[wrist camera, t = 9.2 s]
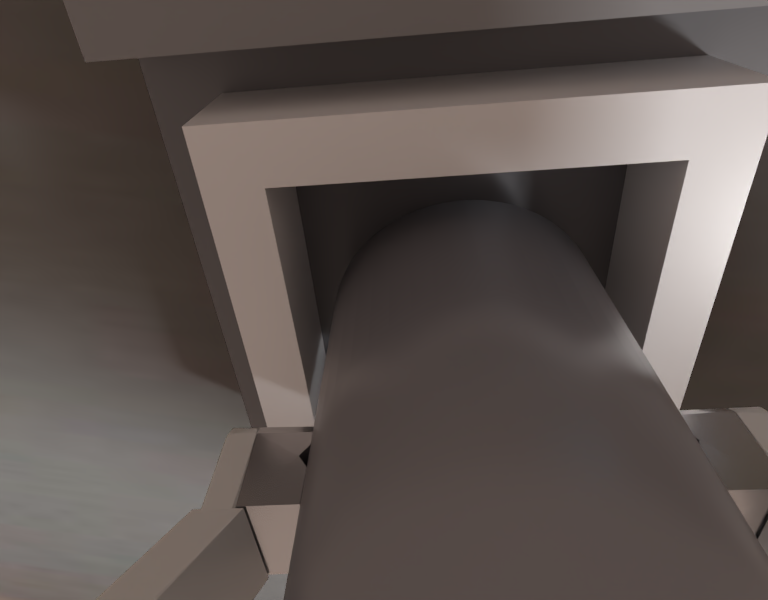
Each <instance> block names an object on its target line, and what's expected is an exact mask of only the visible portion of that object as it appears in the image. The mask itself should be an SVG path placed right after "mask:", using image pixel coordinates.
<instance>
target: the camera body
mask: <svg viewBox="0 0 768 600" xmlns="http://www.w3.org/2000/svg"><path fill="white" fill-rule="evenodd" d="M63 3H64V5H65V8H66V11H67V14H68V17H69V19H70V22H71V25H72V28H73V30H74V33H75V36H76V39H77V42H78V44H79V47H80V50H81V53H82V55H83V58H84V61H85V63H86V62H98V61H110V60H122V59H134V58H138V60H139V63H140V66H141V70H142V73H143V76H144V79H145V83H146V86H147V89H148V92H149V96H150V99H151V102H152V105H153V109H154V112H155V115H156V118H157V122H158V125H159V128H160V131H161V135H162V138H163V141H164V144H165V148H166V151H167V154H168V157H169V161H170V164H171V167H172V170H173V174H174V177H175V180H176V183H177V187H178V190H179V193H180V196H181V200H182V203H183V206H184V209H185V213H186V216H187V219H188V222H189V226H190V229H191V232H192V235H193V239H194V242H195V245H196V248H197V252H198V255H199V258H200V261H201V265H202V268H203V271H204V274H205V278H206V281H207V284H208V287H209V291H210V294H211V297H212V300H213V304H214V307H215V310H216V313H217V317H218V320H219V323H220V326H221V330H222V333H223V336H224V339H225V343H226V346H227V349H228V352H229V356H230V359H231V362H232V365H233V369H234V372H235V375H236V378H237V382H238V385H239V388H240V391H241V394H242V398H243V401H244V404H245V407H246V411H247V414H248V417H249V420H250V424H251V427H252V428H261V427H314V422H315V417H316V411H317V405H318V399H319V394H320V388H321V382H322V376H323V371H324V365H325V359H326V353H327V348H328V342H329V336H330V330H331V325H332V319H333V313H334V307H335V302H336V297H337V293H338V289H339V285H340V283H341V280H342V278H343V275H344V273H345V271H346V269H347V268H348V266H349V264H350V263H351V261H352V259H353V258H354V257H355V255H356V254H357V253H358V252H359V250H360V249H361V248H362V247H363V246H364V245H365V244H366V243H367V242H368V241H369V240H370V239H371V238H372V237H373V236H374V235H375V234H376V233H378V232H379V231H381V230H382V229H383V228H385V227H386V226H388V225H389V224H390V223H392V222H394V221H396V220H398V219H400V218H402V217H403V216H405V215H407V214H410V213H412V212H415V211H417V210H420V209H423V208H425V207H429V206H433V205H437V204H441V203H446V202H453V201H461V200H487V201H495V202H503V203H507V204H511V205H515V206H519V207H522V208H524V209H527V210H529V211H532V212H534V213H537V214H539V215H540V216H542V217H544V218H546V219H547V220H549V221H551V222H553V223H554V224H555V225H556V226H558V227H559V228H560V229H562V230H563V231H564V232H565V233H566V234H567V235H568V236H569V237H570V238H571V239H572V240H573V241H574V242H575V243H576V244H577V246H578V247H579V249H580V250H581V252H582V253H583V255H584V256H585V258H586V260H587V261H588V263H589V265H590V266H591V268H592V269H593V271H594V273H595V274H596V276H597V278H598V279H599V281H600V283H601V284H602V286H603V287H604V289H605V291H606V292H607V294H608V296H609V297H610V299H611V301H612V302H613V304H614V305H615V307H616V309H617V310H618V312H619V314H620V315H621V317H622V319H623V320H624V322H625V323H626V325H627V327H628V328H629V330H630V332H631V333H632V335H633V337H634V338H635V340H636V341H637V343H638V345H639V346H640V348H641V350H642V351H643V353H644V354H645V356H646V358H647V359H648V361H649V363H650V364H651V366H652V368H653V369H654V371H655V372H656V374H657V376H658V377H659V379H660V381H661V382H662V384H663V386H664V387H665V389H666V390H667V392H668V394H669V395H670V397H671V399H672V400H673V402H674V404H675V405H676V407H677V408H678V410H680V407H681V404H682V401H683V398H684V395H685V391H686V388H687V385H688V382H689V379H690V376H691V373H692V370H693V366H694V363H695V360H696V357H697V354H698V351H699V348H700V344H701V341H702V338H703V335H704V332H705V329H706V326H707V323H708V319H709V316H710V313H711V310H712V307H713V304H714V301H715V298H716V294H717V291H718V288H719V285H720V282H721V279H722V276H723V272H724V269H725V266H726V263H727V260H728V257H729V254H730V251H731V247H732V244H733V241H734V238H735V235H736V232H737V229H738V226H739V222H740V219H741V216H742V213H743V210H744V207H745V204H746V201H747V197H748V194H749V191H750V188H751V185H752V182H753V179H754V175H755V172H756V169H757V166H758V163H759V160H760V157H761V154H762V150H763V147H764V144H765V141H766V138H767V135H768V0H63Z"/></svg>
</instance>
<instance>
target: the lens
mask: <svg viewBox="0 0 768 600" xmlns="http://www.w3.org/2000/svg"><path fill="white" fill-rule="evenodd" d="M284 600H768V556H767V554H766V552H765V551H764V549H763V547H762V546H761V544H760V542H759V541H758V539H757V538H756V536H755V534H754V533H753V531H752V529H751V528H750V526H749V525H748V523H747V521H746V520H745V518H744V516H743V515H742V513H741V511H740V510H739V508H738V507H737V505H736V503H735V502H734V500H733V498H732V497H731V495H730V493H729V492H728V490H727V489H726V487H725V485H724V484H723V482H722V480H721V479H720V477H719V475H718V474H717V472H716V471H715V469H714V467H713V466H712V464H711V462H710V461H709V459H708V457H707V456H706V454H705V453H704V451H703V449H702V448H701V446H700V444H699V443H698V441H697V439H696V438H695V436H694V435H693V433H692V431H691V430H690V428H689V426H688V425H687V423H686V422H685V420H684V418H683V417H682V415H681V413H680V412H679V410H678V408H677V407H676V405H675V404H674V402H673V400H672V399H671V397H670V395H669V394H668V392H667V390H666V389H665V387H664V386H663V384H662V382H661V381H660V379H659V377H658V376H657V374H656V372H655V371H654V369H653V368H652V366H651V364H650V363H649V361H648V359H647V358H646V356H645V354H644V353H643V351H642V350H641V348H640V346H639V345H638V343H637V341H636V340H635V338H634V337H633V335H632V333H631V332H630V330H629V328H628V327H627V325H626V323H625V322H624V320H623V319H622V317H621V315H620V314H619V312H618V310H617V309H616V307H615V305H614V304H613V302H612V301H611V299H610V297H609V296H608V294H607V292H606V291H605V289H604V287H603V286H602V284H601V283H600V281H599V279H598V278H597V276H596V274H595V273H594V271H593V269H592V268H591V266H590V265H589V263H588V261H587V260H586V258H585V256H584V255H583V253H582V252H581V250H580V249H579V247H578V246H577V244H576V243H575V242H574V241H573V240H572V239H571V238H570V237H569V236H568V235H567V234H566V233H565V232H564V231H563V230H562V229H560V228H559V227H558V226H556V225H555V224H554V223H553V222H551V221H549V220H547V219H546V218H544V217H542V216H540V215H539V214H537V213H534V212H532V211H529V210H527V209H524V208H522V207H519V206H515V205H511V204H507V203H503V202H495V201H487V200H461V201H453V202H446V203H441V204H437V205H433V206H429V207H425V208H423V209H420V210H417V211H415V212H412V213H410V214H407V215H405V216H403V217H402V218H400V219H398V220H396V221H394V222H392V223H390V224H389V225H388V226H386V227H385V228H383V229H382V230H381V231H379V232H378V233H376V234H375V235H374V236H373V237H372V238H371V239H370V240H369V241H368V242H367V243H366V244H365V245H364V246H363V247H362V248H361V249H360V250H359V252H358V253H357V254H356V255H355V257H354V258H353V259H352V261H351V263H350V264H349V266H348V268H347V269H346V271H345V273H344V275H343V278H342V280H341V283H340V285H339V289H338V293H337V297H336V302H335V307H334V313H333V319H332V325H331V330H330V336H329V342H328V348H327V353H326V359H325V365H324V371H323V376H322V382H321V388H320V394H319V399H318V405H317V411H316V417H315V422H314V428H313V435H312V441H311V446H310V451H309V457H308V463H307V470H306V476H305V481H304V487H303V493H302V498H301V504H300V509H299V514H298V520H297V526H296V532H295V537H294V543H293V549H292V555H291V560H290V566H289V572H288V578H287V583H286V589H285V595H284Z"/></svg>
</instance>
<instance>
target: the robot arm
mask: <svg viewBox="0 0 768 600" xmlns="http://www.w3.org/2000/svg"><path fill="white" fill-rule="evenodd" d="M679 412H680V413H681V415H682V417H683V418H684V420H685V422H686V423H687V425H688V426H689V428H690V430H691V431H692V433H693V435H694V436H695V438H696V439H697V441H698V443H699V444H700V446H701V448H702V449H703V451H704V453H705V454H706V456H707V457H708V459H709V461H710V462H711V464H712V466H713V467H714V469H715V471H716V472H717V474H718V475H719V477H720V479H721V480H722V482H723V484H724V485H725V487H726V489H727V490H728V492H729V493H730V495H731V497H732V498H733V500H734V502H735V503H736V505H737V507H738V508H739V510H740V511H741V513H742V515H743V516H744V518H745V520H746V521H747V523H748V525H749V526H750V528H751V529H752V531H753V533H754V534H755V536H756V538H757V539H758V541H759V542H760V544H761V546H762V547H763V549H764V551H765V552H766V554H767V556H768V411H766V410H765V409H763V408H761V407H741V408H727V409H724V408H717V409H698V410H679ZM313 428H314V427H261V428H233V429H232V430H231V431H230V433H229V434H228V435H227V437H226V440H225V442H224V445H223V448H222V451H221V454H220V457H219V459H218V462H217V465H216V468H215V471H214V474H213V476H212V479H211V482H210V485H209V488H208V491H207V493H206V496H205V499H204V502H203V505H202V508H201V509H195V510H191V511H190V512H189V513H188V514H187V515H186V516H185V517H184V518H183V519H182V520H181V521H180V522H178V523H177V524H176V525H175V526H174V527H173V528H172V529H171V530H170V531H169V532H168V533H167V534H166V535H164V536H163V537H162V538H161V539H160V540H159V541H158V542H157V543H156V544H155V545H154V546H153V547H152V548H151V549H149V550H148V551H147V552H146V553H145V554H144V555H143V556H142V557H141V558H140V559H139V560H138V561H137V562H135V563H134V564H133V565H132V566H131V567H130V568H129V569H128V570H127V571H126V572H125V573H124V574H123V575H121V576H120V577H119V578H118V579H117V580H116V581H115V582H114V583H113V584H112V585H111V586H110V587H109V588H107V589H106V590H105V591H104V592H103V593H102V594H101V595H100V596H99V597H98V598H97V599H96V600H253V599H254V598H255V596H256V595H257V593H258V592H259V591H260V589H261V588H262V587H263V585H264V584H265V582H266V581H267V580H268V578H269V577H268V575H270V574H288V572H289V566H290V560H291V555H292V549H293V543H294V537H295V532H296V526H297V520H298V514H299V509H300V504H301V498H302V493H303V487H304V481H305V476H306V470H307V463H308V457H309V451H310V446H311V441H312V435H313Z"/></svg>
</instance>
